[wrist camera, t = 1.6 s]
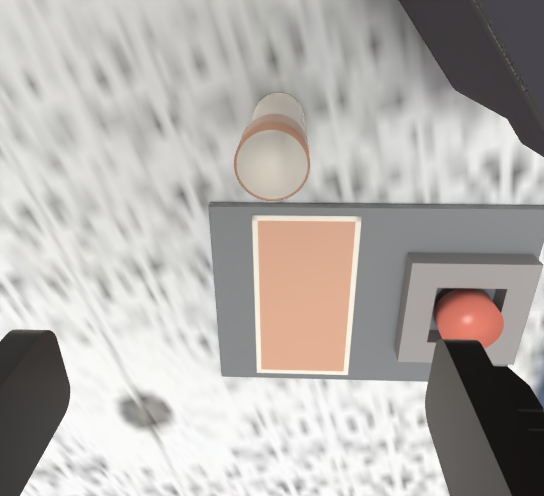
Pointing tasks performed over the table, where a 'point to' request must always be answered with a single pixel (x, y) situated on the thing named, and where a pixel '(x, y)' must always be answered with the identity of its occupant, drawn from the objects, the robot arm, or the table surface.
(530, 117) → the dark grey upright block
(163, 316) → the table surface
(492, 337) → the button
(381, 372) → the board
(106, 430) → the table surface
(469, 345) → the robot arm
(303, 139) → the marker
